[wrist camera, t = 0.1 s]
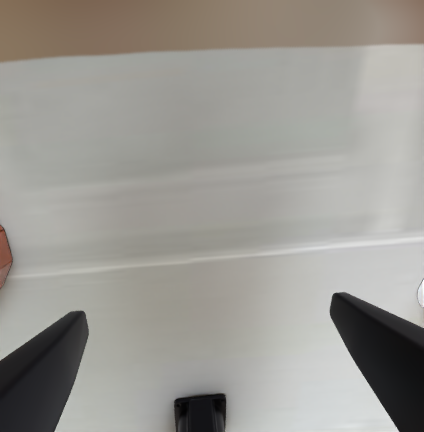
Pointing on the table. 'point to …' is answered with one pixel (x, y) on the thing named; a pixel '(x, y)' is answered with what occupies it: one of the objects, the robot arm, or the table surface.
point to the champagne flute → (421, 294)
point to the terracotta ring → (4, 257)
